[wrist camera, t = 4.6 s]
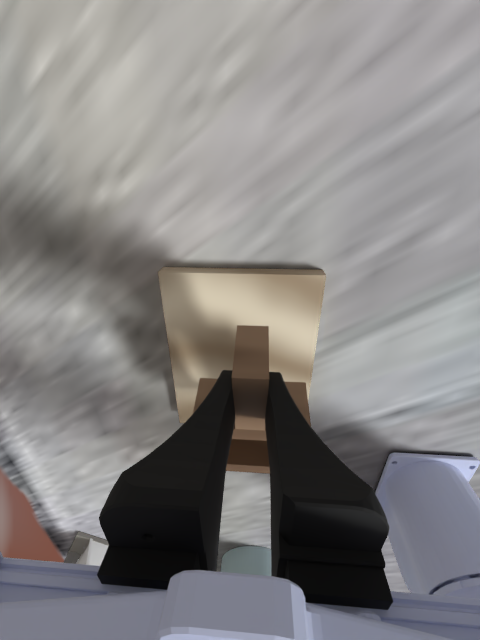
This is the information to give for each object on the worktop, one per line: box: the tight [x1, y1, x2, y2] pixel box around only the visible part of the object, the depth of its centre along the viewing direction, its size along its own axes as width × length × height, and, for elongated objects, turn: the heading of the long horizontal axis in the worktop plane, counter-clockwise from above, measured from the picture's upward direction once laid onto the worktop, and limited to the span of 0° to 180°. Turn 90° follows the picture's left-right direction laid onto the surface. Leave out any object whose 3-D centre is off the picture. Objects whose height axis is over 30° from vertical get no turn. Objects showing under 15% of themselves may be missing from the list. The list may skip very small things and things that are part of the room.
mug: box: [221, 546, 271, 576], centre depth 34 cm, size 14×9×10 cm
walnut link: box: [193, 325, 311, 473], centre depth 16 cm, size 11×6×3 cm, turn 0°
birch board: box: [158, 267, 326, 423], centre depth 22 cm, size 14×11×1 cm
